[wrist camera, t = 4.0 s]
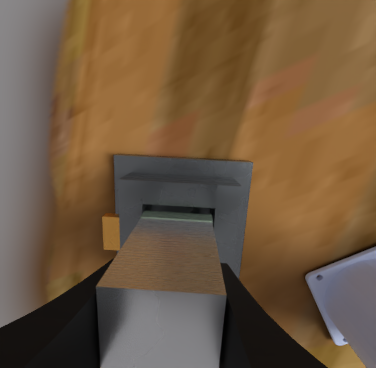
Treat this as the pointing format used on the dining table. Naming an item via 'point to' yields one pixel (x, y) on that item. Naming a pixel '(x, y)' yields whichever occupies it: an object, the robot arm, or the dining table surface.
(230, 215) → the stand base
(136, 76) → the dining table surface
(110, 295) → the post
